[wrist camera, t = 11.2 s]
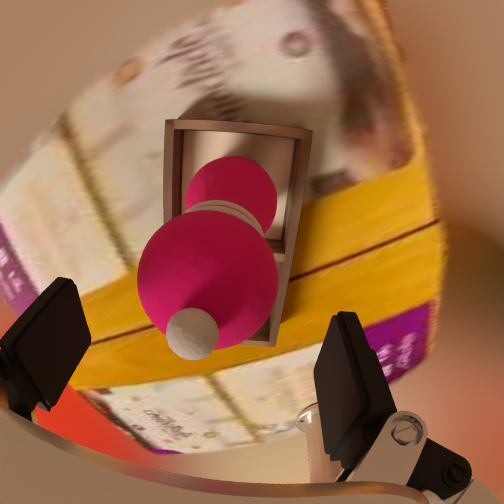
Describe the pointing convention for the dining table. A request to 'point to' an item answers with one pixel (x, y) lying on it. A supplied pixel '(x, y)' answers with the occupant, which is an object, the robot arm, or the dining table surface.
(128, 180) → the dining table surface
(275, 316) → the caddy
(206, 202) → the pepper mill
